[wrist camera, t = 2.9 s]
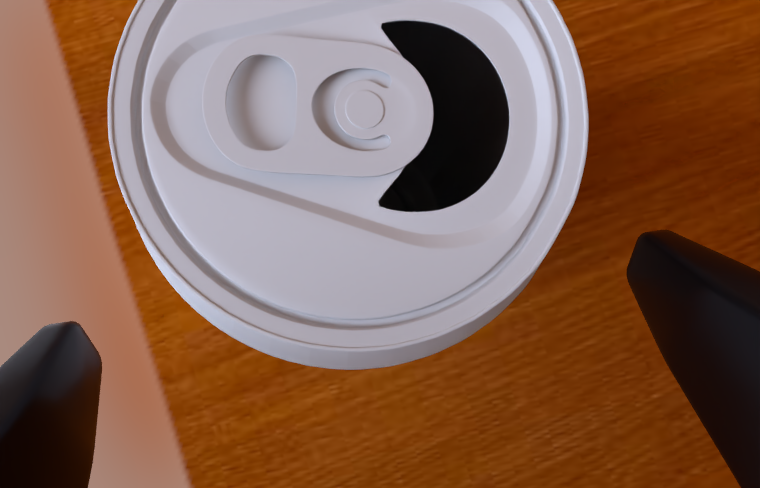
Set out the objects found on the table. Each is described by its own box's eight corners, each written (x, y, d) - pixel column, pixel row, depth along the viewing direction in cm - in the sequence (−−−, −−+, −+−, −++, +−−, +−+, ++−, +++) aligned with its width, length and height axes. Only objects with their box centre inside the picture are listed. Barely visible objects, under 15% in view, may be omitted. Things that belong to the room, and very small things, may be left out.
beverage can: (436, 324, 18) (636, 388, 6) (248, 322, 17) (44, 388, 5) (437, 145, 18) (619, -131, 6) (255, 138, 18) (87, -174, 6)
